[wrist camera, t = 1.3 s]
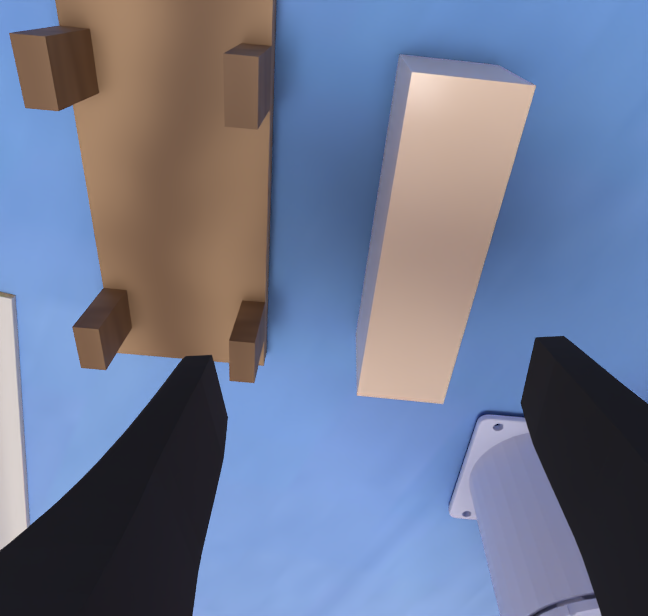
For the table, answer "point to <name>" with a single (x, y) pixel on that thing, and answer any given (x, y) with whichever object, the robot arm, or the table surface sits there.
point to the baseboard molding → (11, 429)
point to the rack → (168, 168)
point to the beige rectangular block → (434, 219)
